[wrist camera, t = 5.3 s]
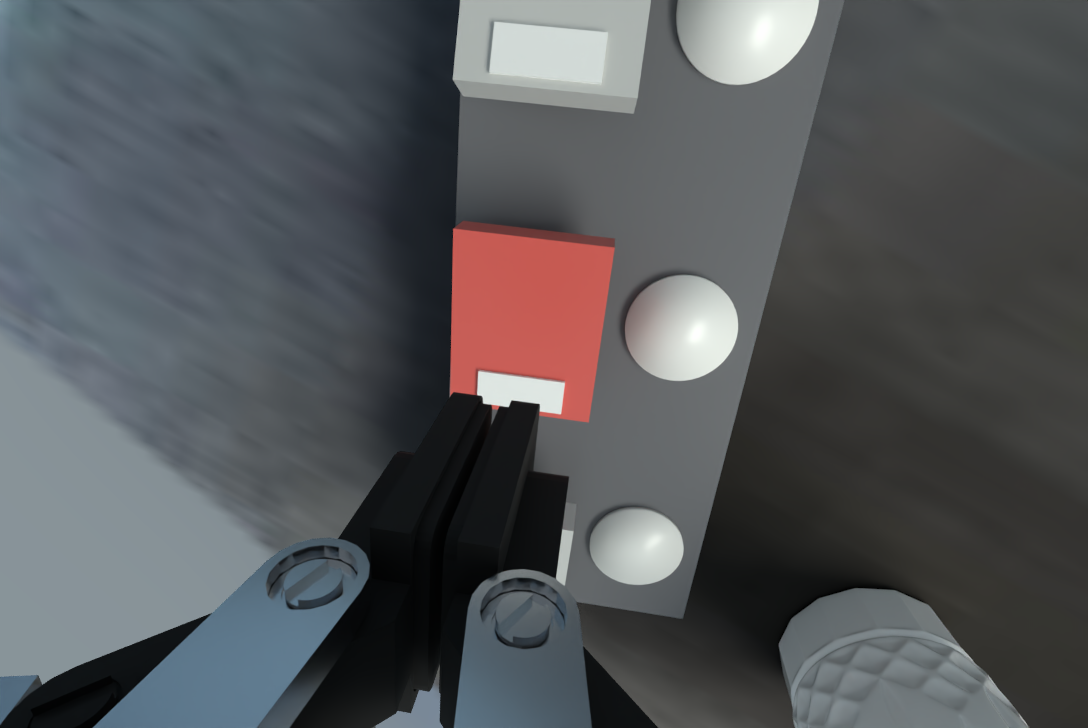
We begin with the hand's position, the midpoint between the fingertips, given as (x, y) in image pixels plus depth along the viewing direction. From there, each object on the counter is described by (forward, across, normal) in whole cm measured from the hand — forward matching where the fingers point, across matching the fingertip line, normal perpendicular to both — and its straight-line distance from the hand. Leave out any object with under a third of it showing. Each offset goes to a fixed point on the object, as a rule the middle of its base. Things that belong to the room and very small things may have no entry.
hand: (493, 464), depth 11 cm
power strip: (+10, -2, -3) cm, 10 cm away
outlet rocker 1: (+5, 0, -9) cm, 11 cm away
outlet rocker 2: (+5, 0, -1) cm, 5 cm away
